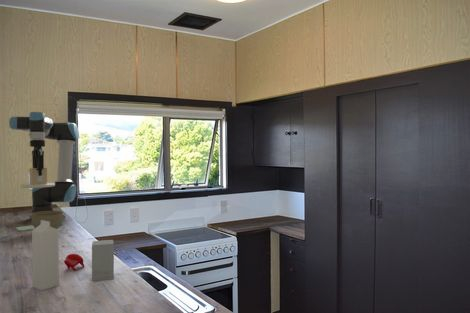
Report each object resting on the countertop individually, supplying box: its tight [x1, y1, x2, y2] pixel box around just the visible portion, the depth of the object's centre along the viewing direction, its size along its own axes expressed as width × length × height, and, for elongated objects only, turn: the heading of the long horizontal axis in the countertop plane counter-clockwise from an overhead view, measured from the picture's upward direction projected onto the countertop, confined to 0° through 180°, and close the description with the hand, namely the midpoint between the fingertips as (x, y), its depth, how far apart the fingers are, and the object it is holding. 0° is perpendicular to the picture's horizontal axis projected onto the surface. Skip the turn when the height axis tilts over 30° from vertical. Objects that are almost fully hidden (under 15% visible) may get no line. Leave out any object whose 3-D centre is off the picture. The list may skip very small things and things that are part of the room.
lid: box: [20, 167, 55, 189], centre depth 220 cm, size 17×17×10 cm
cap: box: [63, 253, 85, 272], centre depth 150 cm, size 8×6×6 cm
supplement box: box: [91, 239, 115, 282], centre depth 140 cm, size 7×7×13 cm
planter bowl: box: [30, 210, 64, 230], centre depth 215 cm, size 16×16×11 cm
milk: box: [31, 220, 60, 291], centre depth 131 cm, size 6×6×22 cm
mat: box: [14, 224, 35, 232], centre depth 226 cm, size 11×10×1 cm
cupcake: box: [58, 205, 66, 226], centre depth 236 cm, size 9×8×12 cm
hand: (38, 181), depth 220 cm, fingers closed on lid, 4 cm apart
